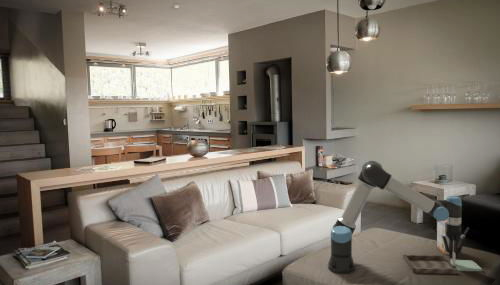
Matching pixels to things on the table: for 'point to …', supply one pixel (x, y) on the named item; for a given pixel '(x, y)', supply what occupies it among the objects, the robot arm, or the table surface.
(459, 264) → the cover plate
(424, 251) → the table surface
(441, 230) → the cracker box
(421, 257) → the slide box
